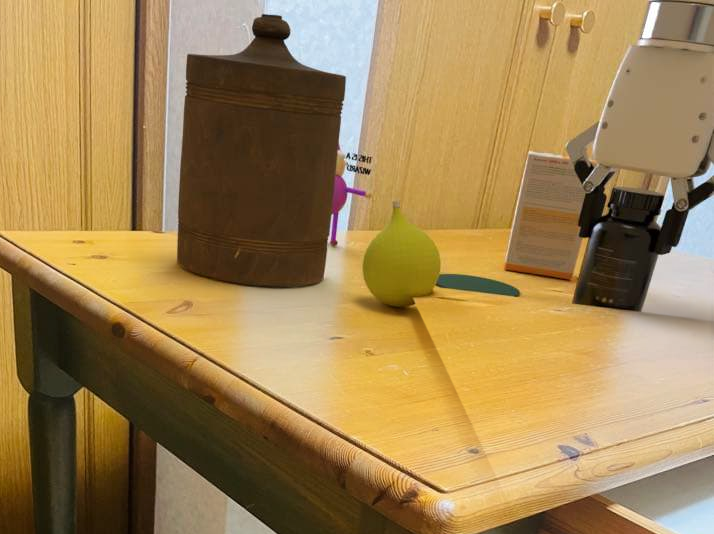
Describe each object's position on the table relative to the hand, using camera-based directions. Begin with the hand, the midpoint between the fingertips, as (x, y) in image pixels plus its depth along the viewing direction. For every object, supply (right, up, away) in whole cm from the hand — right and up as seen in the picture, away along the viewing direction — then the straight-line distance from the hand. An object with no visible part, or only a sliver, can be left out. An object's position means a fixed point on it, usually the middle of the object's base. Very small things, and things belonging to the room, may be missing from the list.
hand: (624, 243), depth 82 cm
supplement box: (-3, +4, +21) cm, 21 cm away
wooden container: (-37, -2, +3) cm, 37 cm away
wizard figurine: (-29, +7, +20) cm, 36 cm away
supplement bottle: (-1, -6, +4) cm, 7 cm away
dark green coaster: (-13, -2, +9) cm, 16 cm away
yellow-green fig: (-23, -7, -3) cm, 24 cm away
